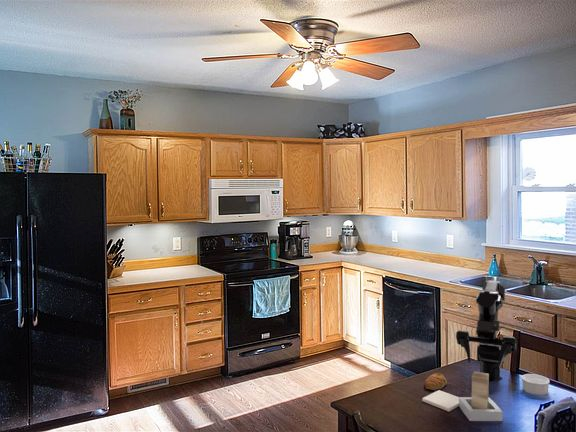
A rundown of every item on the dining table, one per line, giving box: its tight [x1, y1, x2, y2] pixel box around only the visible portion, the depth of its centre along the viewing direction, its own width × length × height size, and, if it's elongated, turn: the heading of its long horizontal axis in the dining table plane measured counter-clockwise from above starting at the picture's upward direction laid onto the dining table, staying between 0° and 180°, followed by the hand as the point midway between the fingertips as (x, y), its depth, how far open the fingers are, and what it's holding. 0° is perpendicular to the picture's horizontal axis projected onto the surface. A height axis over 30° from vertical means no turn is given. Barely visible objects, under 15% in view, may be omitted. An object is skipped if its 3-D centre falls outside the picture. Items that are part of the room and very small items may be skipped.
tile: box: [421, 389, 460, 412], centre depth 156 cm, size 10×10×1 cm
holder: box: [458, 396, 504, 422], centre depth 147 cm, size 10×10×3 cm
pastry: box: [424, 372, 448, 391], centre depth 168 cm, size 9×7×4 cm
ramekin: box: [520, 373, 550, 396], centre depth 164 cm, size 9×9×4 cm
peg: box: [471, 371, 490, 409], centre depth 147 cm, size 4×4×12 cm
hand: (483, 364), depth 154 cm, fingers open, 9 cm apart
